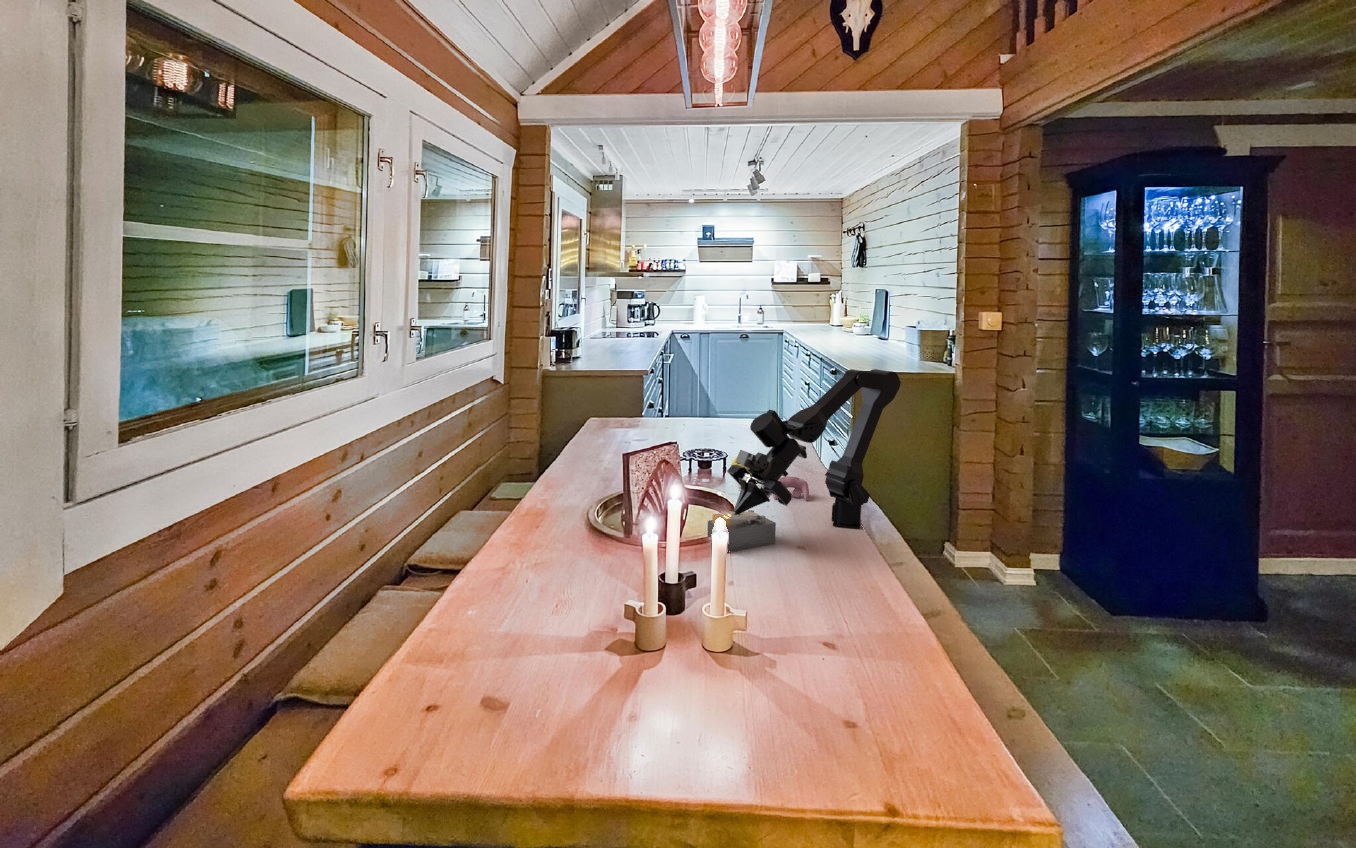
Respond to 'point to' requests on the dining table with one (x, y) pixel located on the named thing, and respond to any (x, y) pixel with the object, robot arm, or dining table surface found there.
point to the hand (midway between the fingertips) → (735, 512)
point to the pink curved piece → (795, 486)
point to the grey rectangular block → (747, 532)
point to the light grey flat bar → (742, 515)
